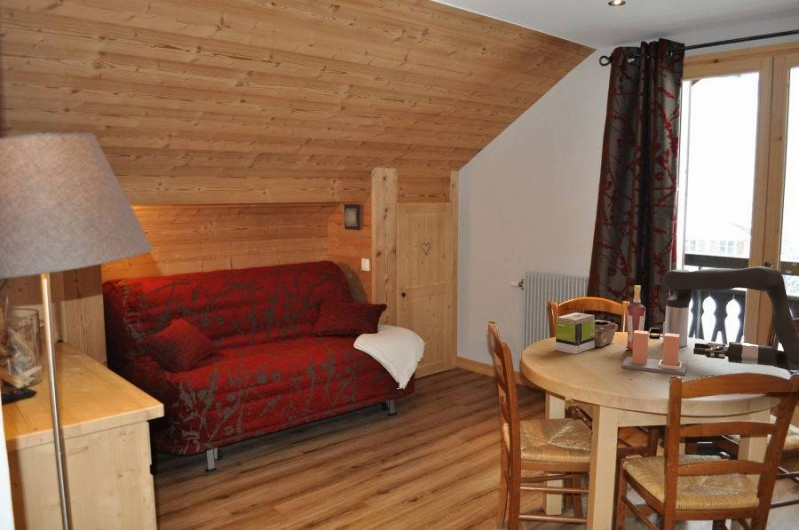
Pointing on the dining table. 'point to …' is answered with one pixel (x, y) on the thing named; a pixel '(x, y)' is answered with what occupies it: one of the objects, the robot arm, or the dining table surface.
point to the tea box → (575, 332)
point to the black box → (654, 330)
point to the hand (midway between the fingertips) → (694, 348)
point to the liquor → (635, 317)
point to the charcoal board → (642, 363)
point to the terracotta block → (671, 349)
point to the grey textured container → (604, 332)
